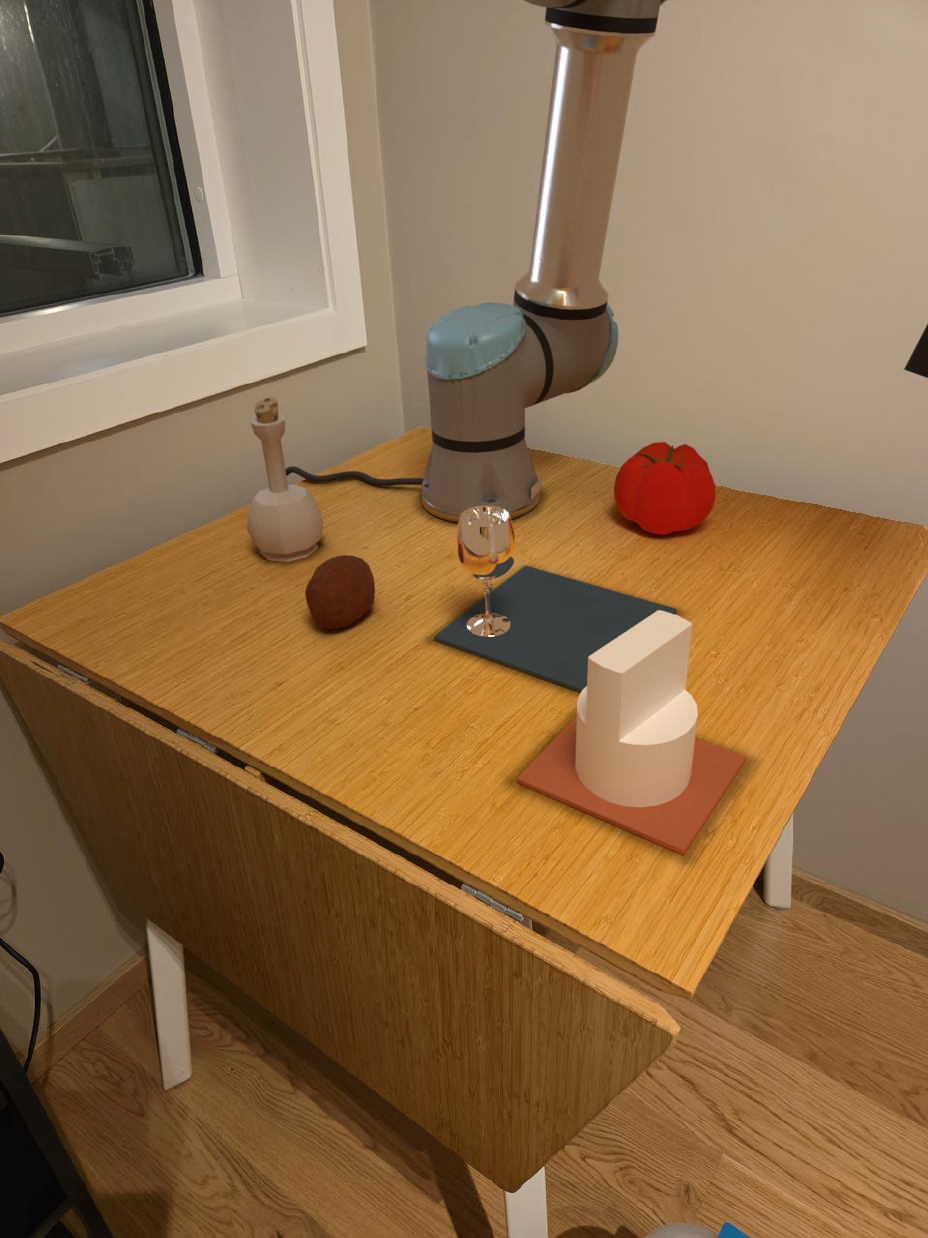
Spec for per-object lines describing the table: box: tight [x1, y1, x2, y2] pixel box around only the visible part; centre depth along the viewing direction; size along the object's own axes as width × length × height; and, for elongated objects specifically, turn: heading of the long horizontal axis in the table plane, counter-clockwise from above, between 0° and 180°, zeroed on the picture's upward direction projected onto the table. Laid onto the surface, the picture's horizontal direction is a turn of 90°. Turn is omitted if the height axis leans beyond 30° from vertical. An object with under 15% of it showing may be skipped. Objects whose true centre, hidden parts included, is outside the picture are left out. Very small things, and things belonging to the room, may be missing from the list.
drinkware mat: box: [433, 565, 678, 694], centre depth 90 cm, size 18×17×1 cm
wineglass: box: [455, 505, 517, 637], centre depth 87 cm, size 6×6×12 cm
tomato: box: [613, 441, 717, 536], centre depth 106 cm, size 11×12×9 cm
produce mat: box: [516, 715, 747, 856], centre depth 71 cm, size 14×12×1 cm
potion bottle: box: [246, 396, 324, 563], centre depth 103 cm, size 9×9×18 cm
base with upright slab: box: [575, 610, 699, 807], centre depth 68 cm, size 9×9×12 cm
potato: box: [304, 554, 376, 630], centre depth 92 cm, size 7×9×6 cm
